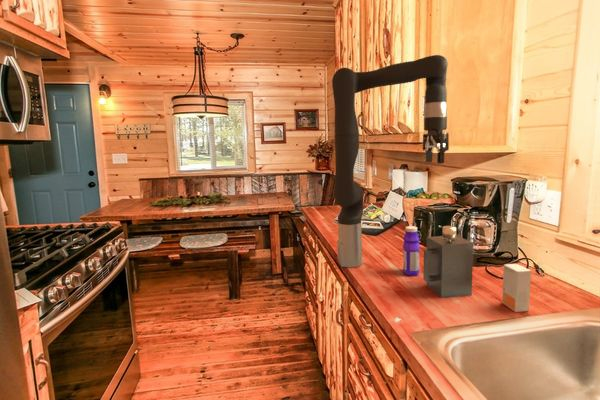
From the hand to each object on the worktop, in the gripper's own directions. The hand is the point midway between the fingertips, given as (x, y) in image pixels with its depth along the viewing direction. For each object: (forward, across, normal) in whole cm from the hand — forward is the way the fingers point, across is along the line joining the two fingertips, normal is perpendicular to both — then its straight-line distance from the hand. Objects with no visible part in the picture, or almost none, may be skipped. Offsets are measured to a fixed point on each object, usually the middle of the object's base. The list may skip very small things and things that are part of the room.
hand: (434, 162), depth 128 cm
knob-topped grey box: (+40, +18, -5) cm, 44 cm away
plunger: (+38, +18, -4) cm, 43 cm away
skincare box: (+40, +33, +8) cm, 53 cm away
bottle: (+40, +1, -9) cm, 41 cm away
